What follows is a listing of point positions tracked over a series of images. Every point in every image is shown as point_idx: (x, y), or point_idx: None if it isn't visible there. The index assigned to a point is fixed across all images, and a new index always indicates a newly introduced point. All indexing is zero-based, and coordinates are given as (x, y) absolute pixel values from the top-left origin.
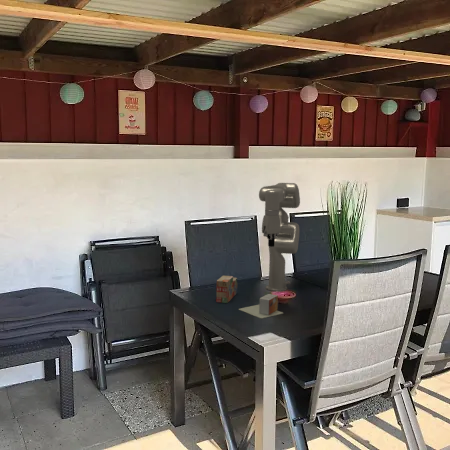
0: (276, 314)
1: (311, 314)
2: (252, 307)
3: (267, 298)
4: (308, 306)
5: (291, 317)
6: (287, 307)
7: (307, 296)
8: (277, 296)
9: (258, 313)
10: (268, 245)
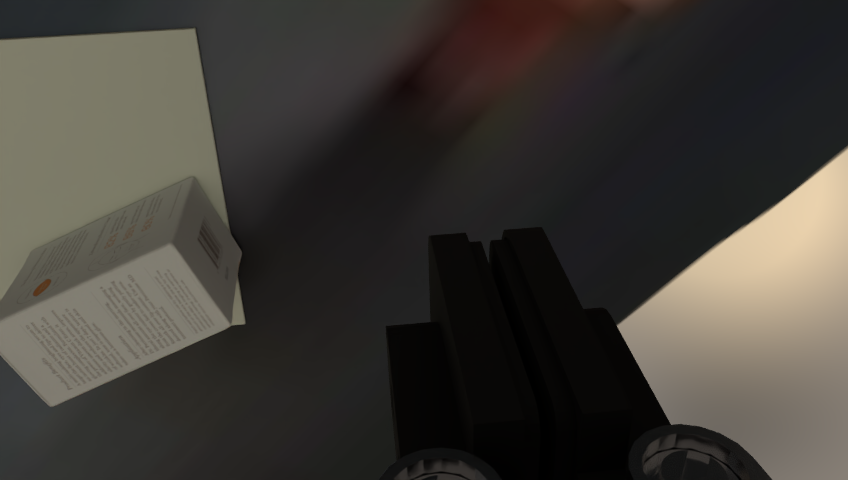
0: None
1: None
2: (56, 79)
3: (60, 367)
4: None
5: (245, 407)
6: (384, 217)
7: (800, 44)
8: (222, 326)
9: (26, 248)
10: (430, 254)
